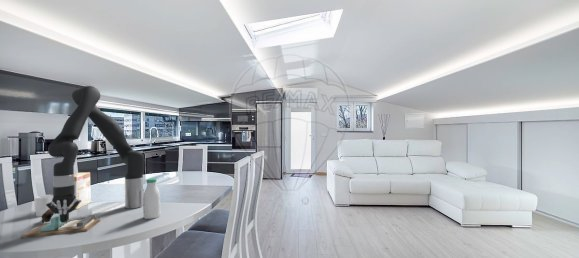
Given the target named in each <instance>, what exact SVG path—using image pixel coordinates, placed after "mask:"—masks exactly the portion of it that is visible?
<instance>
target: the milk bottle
mask: <svg viewBox="0 0 579 258" xmlns="http://www.w3.org/2000/svg"><path fill="white" fill-rule="evenodd" d="M142 207H143V208H142V209H143V218H144V219H145V220H153V219H157V218H159V217H161V194H160V190H159V188H158V186H157V178H154V177H153V178H148V179H146V188H145V189H144V198H143V206H142Z"/></svg>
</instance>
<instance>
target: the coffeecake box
mask: <svg viewBox="0 0 579 258" xmlns="http://www.w3.org/2000/svg"><path fill="white" fill-rule="evenodd" d="M74 180H75V194H74V195H75V197H76V199H77V200H81V202H80V204H79V205H78V206H77V207H76V208H75V209H74V210H73V211H75V210H78V209H80V208H82V207H84V206H86V205H88V204H90V203H91V201H92V198H91V193H92V191H91V188H92V187H91V172H90V171H88V172H77V173H76V172H75V173H74ZM73 202H74V201H73ZM73 202H72V204H71V205H70V208H71V207H72V206H73V205H74V204H73Z"/></svg>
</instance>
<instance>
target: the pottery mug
mask: <svg viewBox="0 0 579 258" xmlns="http://www.w3.org/2000/svg"><path fill="white" fill-rule="evenodd" d="M56 206H57V205H56ZM57 207H58V206H57ZM54 215H55V213H54V212H53V211H52V210H51V209H48V210H47V211H46V212H45V213H44V214H43V215H42V216H41V223H42V224H45V223H50V222H51V218H53V216H54Z"/></svg>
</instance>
